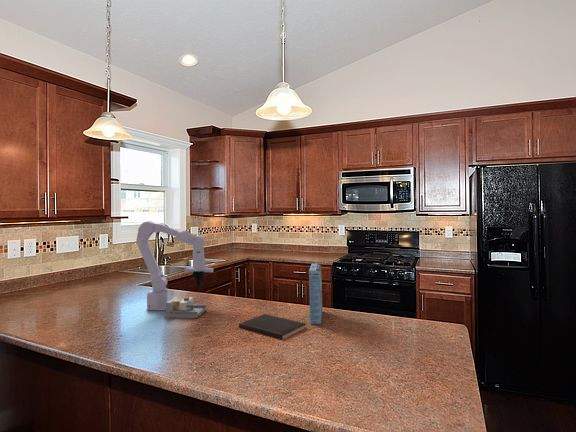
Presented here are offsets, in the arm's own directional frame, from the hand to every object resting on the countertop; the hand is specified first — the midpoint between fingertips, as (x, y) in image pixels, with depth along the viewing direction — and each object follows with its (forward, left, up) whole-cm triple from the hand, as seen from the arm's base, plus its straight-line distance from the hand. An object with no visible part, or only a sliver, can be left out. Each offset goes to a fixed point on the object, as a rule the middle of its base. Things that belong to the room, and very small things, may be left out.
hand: (199, 286), depth 178 cm
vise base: (-2, -14, -10) cm, 17 cm away
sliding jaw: (-1, -14, -8) cm, 16 cm away
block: (-5, -14, -8) cm, 17 cm away
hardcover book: (+42, -31, -11) cm, 53 cm away
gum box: (+60, -16, -10) cm, 63 cm away
